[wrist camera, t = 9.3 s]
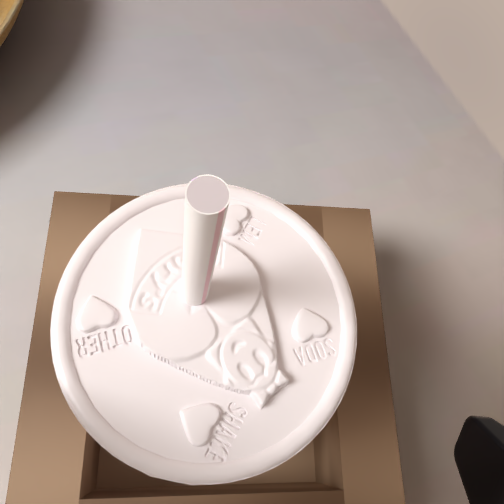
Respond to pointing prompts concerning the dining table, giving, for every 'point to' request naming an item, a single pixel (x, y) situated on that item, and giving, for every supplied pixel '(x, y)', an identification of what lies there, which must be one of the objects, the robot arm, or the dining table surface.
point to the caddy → (226, 494)
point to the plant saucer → (8, 16)
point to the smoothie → (203, 333)
